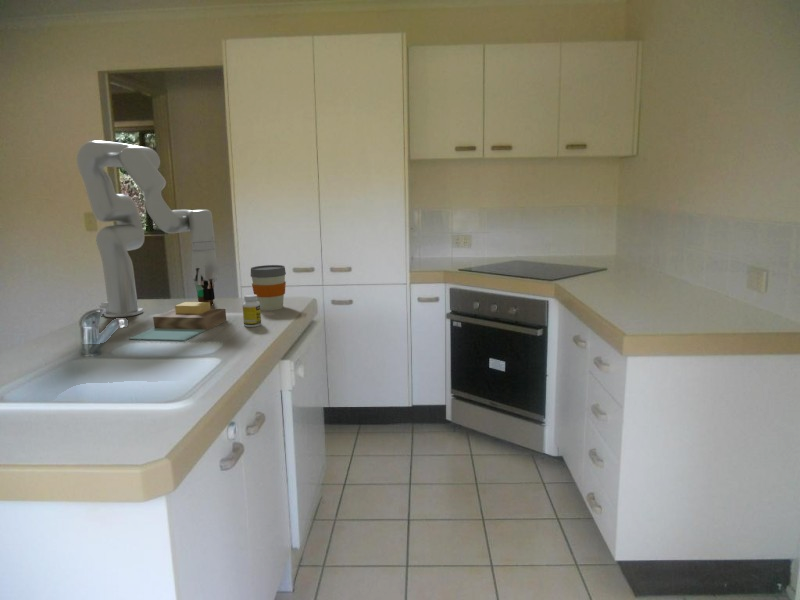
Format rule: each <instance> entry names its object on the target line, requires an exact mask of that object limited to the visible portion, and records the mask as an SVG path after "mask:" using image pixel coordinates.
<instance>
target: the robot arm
mask: <svg viewBox="0 0 800 600" xmlns="http://www.w3.org/2000/svg"><path fill="white" fill-rule="evenodd" d="M76 164H77V168H78V171H79V174H80V176H81V178H82V180H83V181H82V182H83V183H84V186H85V191H86V195H87V197H88V200H89V204H90V207H91V212H92V213H93V216H94V218H96V220H97V221H100V222H101V223H102V222H103V223H111V222H112V223H113V222H116V224H113V225H112V224H111V225H107V226H104V227H102V228H101V229H99V231H98V232H97V234H96V237H95V238H96V239H95V242H96V245H97V249H98V251H99V255H100V258H101V262H102V269H103V277H104V283H105V284H104V286H105V293H106V299H107V301H106V302H103V301H102V302H101V303H100V305H99V309H105V311H104V313H103V315H104V317H106V318H126V317H132V316H137V315H140V314H142V313H144V308H143V307H139V304H138V296H137V287H136V280H135V272H134V270H135V269H134V264H133V261H132V258H131V256H130V255H129V252H128V251H134V250H137V249H140V248H142V246H143V244H145V231H144V227H143V224H142V220H141V216H140V214H139V210H138V206H137V204H136V203H135V201H134V200H133V198H131V197H130V196H129V195H127V194H124V193H116V190H115V188H114V183H113V181H112V178H111V177H110V175H109V174H108V173H107V172H106V170H105V167H108V168H124V170H125V171H126V172H127V174H128V175H129V177H130V178H131V179H132V181H133V182H134V183H135V184H136V186H137V187H138V188H139V189H140V191H141V193H142V194H143V203H144V207H145V209H146V212H147V214H148V215H149V217H150V219H151V220H152V222H153V223H155V225H156V226H157V227H158V228H159V229H160V230H161V231H162V232H164V233H167V234H177V233H179V234H180V233H186V232H189V233H190V234H189V235H190V241H191V242H190V243H191V244H190V245H191V250H192V252H191V277H192V280H193V282H194V281H198V285H201V287H202V289H203V296H204V300H213V301H214V300H215V298H216V297H215V289H214V288H215V282H216V281H217V279H218V278H217V277H219V275H220V274H219V273H220V271H219V263H218V258H217V253H216V250H217V249H216V240H215V231H214V222H213V221H214V220H213V213H212V211H211V210H210V209H193V210H191V209H173V210H172V209H171V208H170V207H169V205H168V204H167V202H166V201H165V200H164V198H163V196H162V191H163V189H164V188H165V187H166V185H167V180H166V179H165V177H164V176H163V175H162V173H161V172H160V171H159V170H158V169H159V168H160V165H161V159H160V156H159V154H158V153H157V152H156V151H155V150H154V149H153V148H152V147H147V146H140V145H134V144H130V143H129V144H128V143H123V142H118V141H117V142H115V141H108V140H107V141H106V140H89V141H87V142H85V143H83V144H82V145H81V146H80V147H79V150H78V151H77V156H76Z"/></svg>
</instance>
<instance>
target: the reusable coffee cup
mask: <svg viewBox="0 0 800 600" xmlns="http://www.w3.org/2000/svg"><path fill="white" fill-rule="evenodd" d="M286 274H287V272H286V267H285V265H282V264H281V265H279V264H266V265H257V266H252V267H250V277H251V280H252V283H251V286H252V290H253V292H252V293H253V294H255V295H257V301H258V302H259V303H260V311H266V310H268V311H277V310H280V309H283V308H284V297H285V294H286V286H287V285H286V284H287V283H286V282H287V281H286Z"/></svg>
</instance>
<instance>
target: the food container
mask: <svg viewBox="0 0 800 600" xmlns="http://www.w3.org/2000/svg"><path fill="white" fill-rule="evenodd" d="M193 285H195V289H196V296H197V302H210V306H213V305H214V300H204V296H203V289H202V287H201V285H198V281H194V280H193ZM212 304H213V305H212Z"/></svg>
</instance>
